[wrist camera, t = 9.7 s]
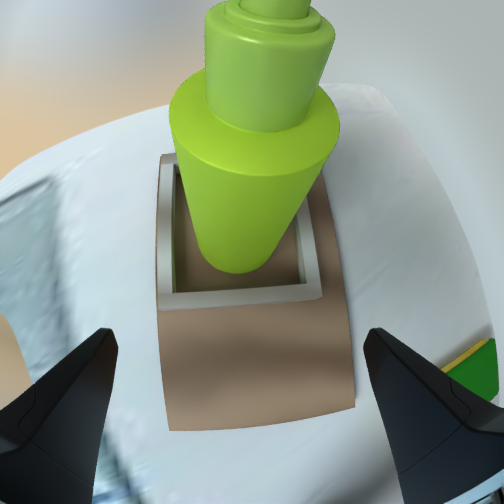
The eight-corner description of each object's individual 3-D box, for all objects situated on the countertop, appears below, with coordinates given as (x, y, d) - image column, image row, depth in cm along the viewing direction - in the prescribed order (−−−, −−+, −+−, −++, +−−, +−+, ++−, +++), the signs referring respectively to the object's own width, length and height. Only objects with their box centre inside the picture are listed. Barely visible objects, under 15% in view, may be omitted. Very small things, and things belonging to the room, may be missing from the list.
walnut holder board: (349, 404, 19) (364, 411, 16) (171, 426, 17) (165, 437, 15) (313, 158, 25) (322, 141, 22) (162, 162, 23) (156, 145, 21)
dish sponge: (485, 391, 20) (499, 392, 18) (400, 454, 18) (414, 461, 16) (480, 338, 22) (495, 336, 20) (393, 394, 20) (408, 398, 17)
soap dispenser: (279, 194, 22) (379, -63, 3) (272, 278, 20) (491, -7, 1) (206, 184, 22) (201, -91, 3) (191, 268, 20) (79, -74, 1)
